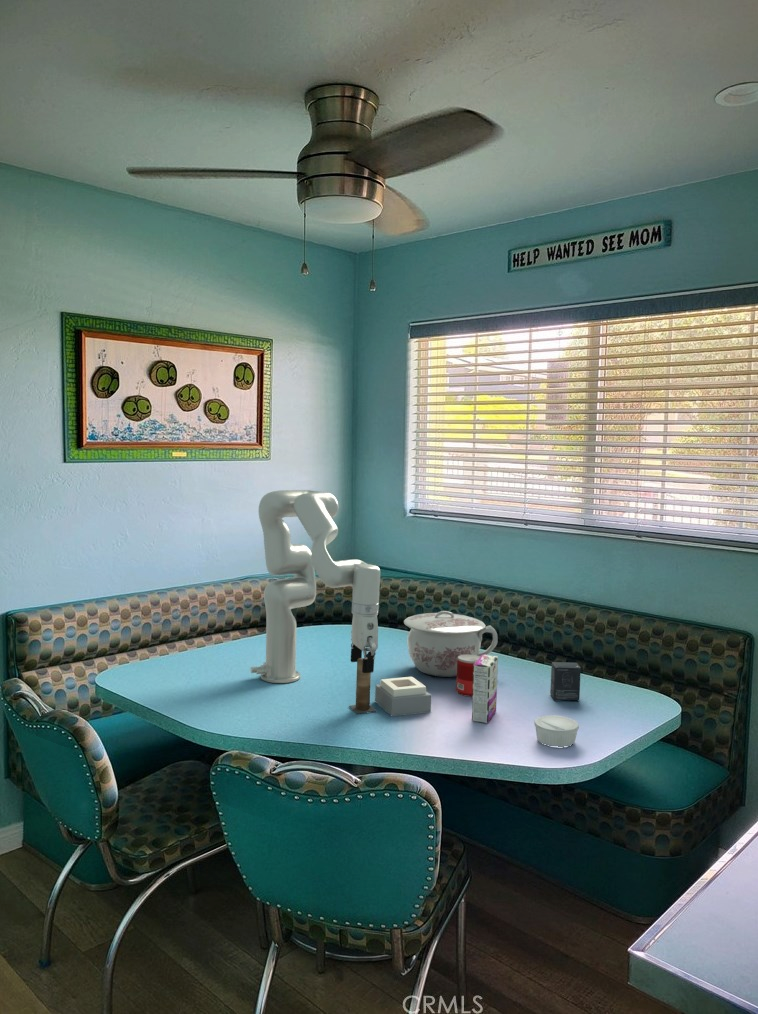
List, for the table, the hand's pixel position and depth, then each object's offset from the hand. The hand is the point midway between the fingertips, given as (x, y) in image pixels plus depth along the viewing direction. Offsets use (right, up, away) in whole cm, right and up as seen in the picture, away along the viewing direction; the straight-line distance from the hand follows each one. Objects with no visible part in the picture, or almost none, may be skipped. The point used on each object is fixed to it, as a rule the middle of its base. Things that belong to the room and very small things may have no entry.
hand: (361, 666), depth 223 cm
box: (+62, -13, +16) cm, 65 cm away
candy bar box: (+34, -14, -2) cm, 37 cm away
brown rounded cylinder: (0, -12, +1) cm, 12 cm away
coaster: (0, -12, +1) cm, 12 cm away
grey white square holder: (+12, -12, +4) cm, 17 cm away
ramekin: (+51, -16, -19) cm, 57 cm away
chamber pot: (+26, -10, +40) cm, 49 cm away
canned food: (+33, -12, +19) cm, 40 cm away
